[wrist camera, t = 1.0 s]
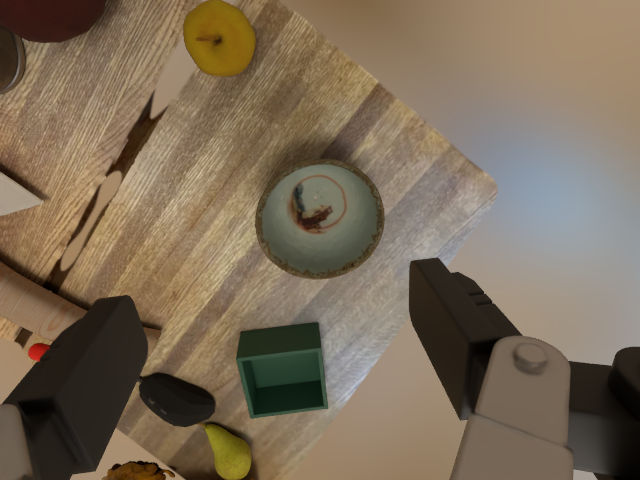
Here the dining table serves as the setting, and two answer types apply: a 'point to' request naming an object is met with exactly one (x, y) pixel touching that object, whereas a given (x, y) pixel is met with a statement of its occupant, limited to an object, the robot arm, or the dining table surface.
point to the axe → (26, 296)
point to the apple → (219, 38)
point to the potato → (49, 18)
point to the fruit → (228, 453)
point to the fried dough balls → (137, 471)
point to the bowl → (320, 219)
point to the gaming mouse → (176, 400)
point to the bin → (282, 370)
